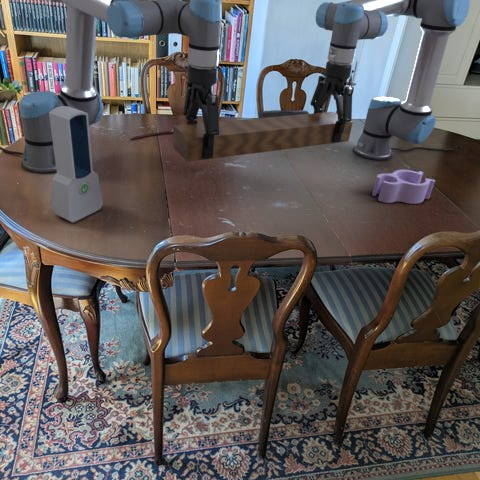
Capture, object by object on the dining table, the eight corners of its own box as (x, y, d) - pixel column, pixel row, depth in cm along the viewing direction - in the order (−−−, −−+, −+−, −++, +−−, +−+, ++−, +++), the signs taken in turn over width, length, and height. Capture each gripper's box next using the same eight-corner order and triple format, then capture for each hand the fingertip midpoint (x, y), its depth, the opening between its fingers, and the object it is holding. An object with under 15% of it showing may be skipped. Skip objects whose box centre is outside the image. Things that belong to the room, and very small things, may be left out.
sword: (193, 127, 202) (193, 124, 201) (196, 129, 200) (196, 126, 199) (126, 139, 186) (126, 136, 185) (130, 142, 184) (130, 139, 183)
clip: (385, 206, 156) (390, 187, 152) (365, 189, 166) (370, 171, 162) (433, 201, 162) (440, 184, 158) (412, 185, 172) (417, 168, 168)
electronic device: (70, 224, 129) (57, 118, 113) (51, 215, 132) (36, 111, 116) (103, 208, 138) (96, 107, 122) (85, 200, 141) (76, 101, 125)
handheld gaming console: (303, 131, 211) (307, 109, 206) (306, 133, 209) (310, 111, 204) (256, 132, 204) (259, 110, 199) (258, 135, 202) (261, 112, 197)
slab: (187, 161, 122) (188, 138, 119) (173, 147, 129) (173, 125, 126) (348, 141, 147) (352, 121, 143) (329, 130, 154) (332, 111, 150)
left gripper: (238, 77, 109) (230, 165, 121) (198, 55, 125) (194, 134, 137) (209, 78, 106) (204, 168, 118) (171, 55, 122) (171, 137, 134)
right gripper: (306, 53, 142) (295, 124, 154) (355, 72, 126) (338, 150, 138) (326, 53, 145) (313, 122, 157) (376, 71, 129) (357, 147, 141)
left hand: (199, 150), depth 128 cm, fingers closed on slab, 10 cm apart
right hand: (325, 135), depth 147 cm, fingers closed on slab, 10 cm apart
